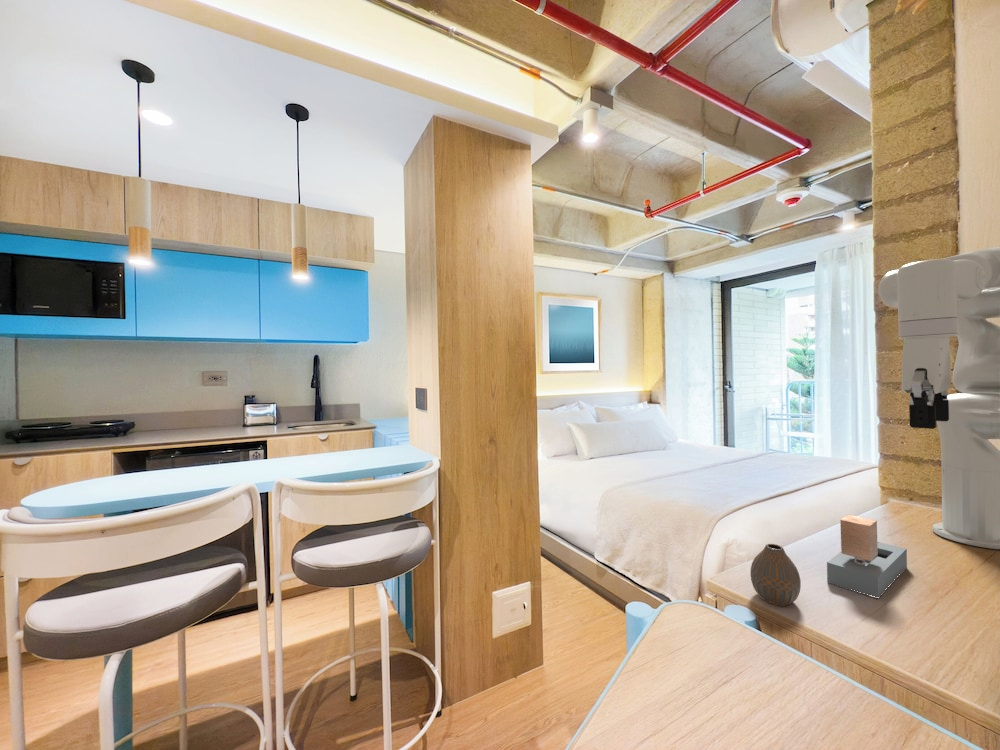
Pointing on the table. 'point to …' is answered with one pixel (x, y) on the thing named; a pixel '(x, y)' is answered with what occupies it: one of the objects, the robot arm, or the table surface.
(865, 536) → the key
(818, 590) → the table surface
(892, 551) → the keyhole plate
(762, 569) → the vase
